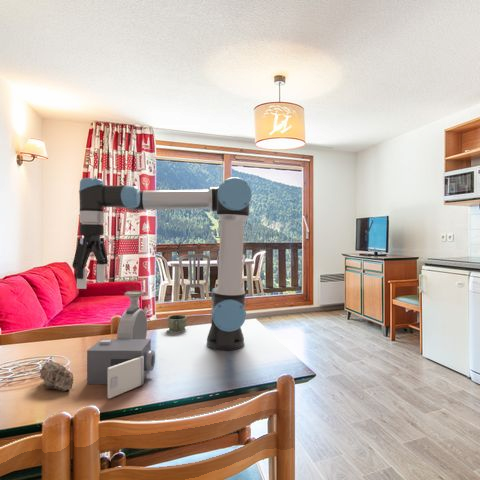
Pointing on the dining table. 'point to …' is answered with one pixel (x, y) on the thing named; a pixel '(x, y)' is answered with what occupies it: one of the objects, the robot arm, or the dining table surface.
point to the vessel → (177, 323)
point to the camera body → (116, 357)
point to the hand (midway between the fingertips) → (91, 285)
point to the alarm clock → (132, 324)
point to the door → (125, 376)
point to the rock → (56, 376)
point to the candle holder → (134, 297)
